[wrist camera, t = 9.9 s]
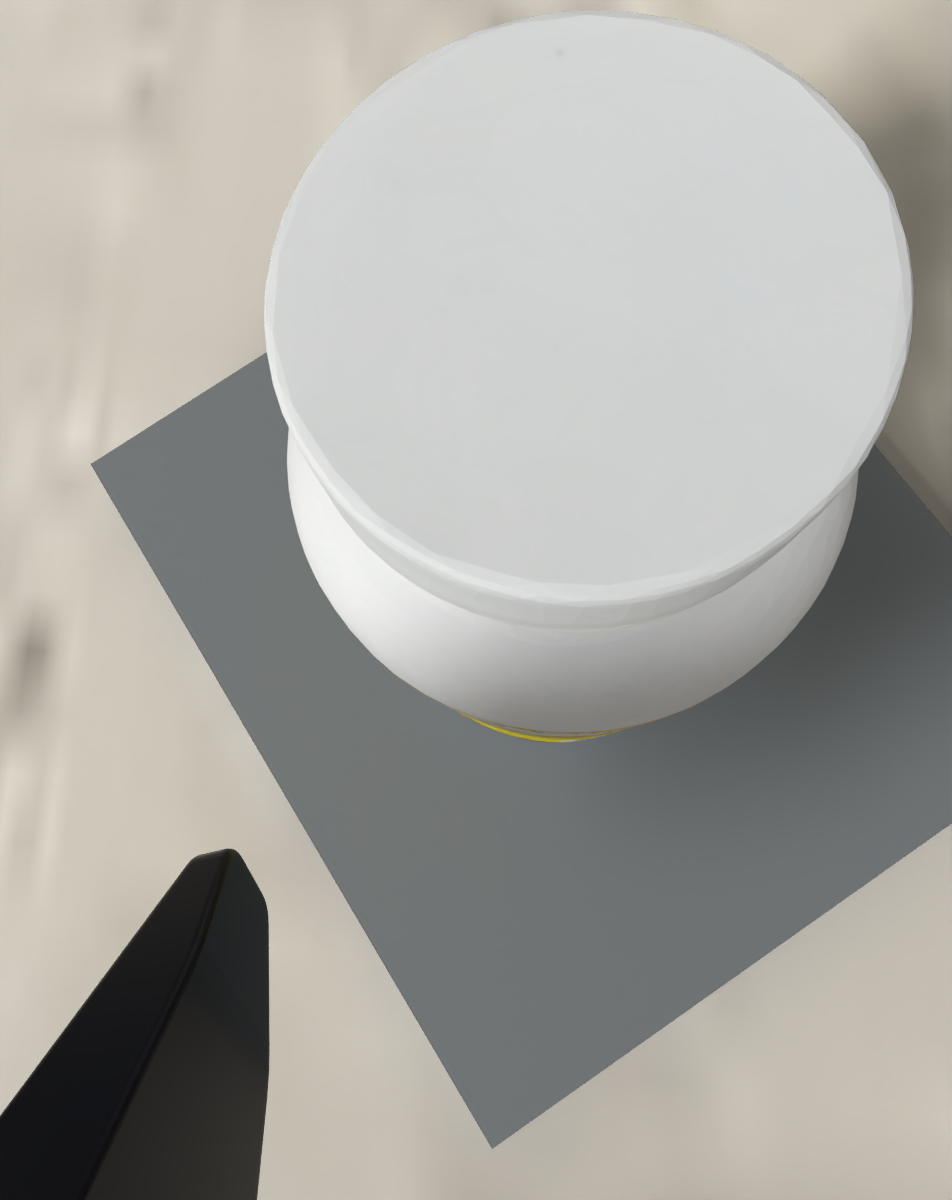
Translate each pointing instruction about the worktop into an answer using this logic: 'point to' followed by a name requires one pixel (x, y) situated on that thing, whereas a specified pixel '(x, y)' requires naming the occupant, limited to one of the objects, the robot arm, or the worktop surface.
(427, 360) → the pill bottle
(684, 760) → the mat
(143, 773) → the worktop surface
